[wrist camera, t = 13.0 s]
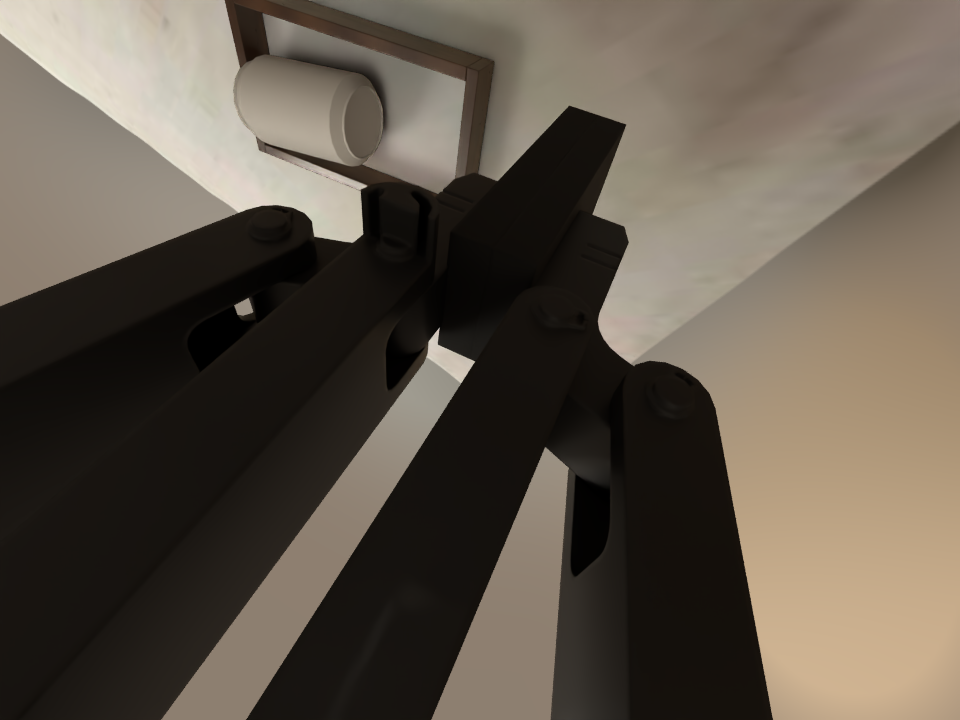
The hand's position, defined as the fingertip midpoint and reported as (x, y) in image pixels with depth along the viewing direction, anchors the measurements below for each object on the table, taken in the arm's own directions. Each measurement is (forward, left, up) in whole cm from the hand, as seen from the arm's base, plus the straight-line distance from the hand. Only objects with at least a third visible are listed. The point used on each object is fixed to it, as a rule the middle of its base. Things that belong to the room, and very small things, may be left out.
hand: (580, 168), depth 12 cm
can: (-7, -25, -23) cm, 34 cm away
